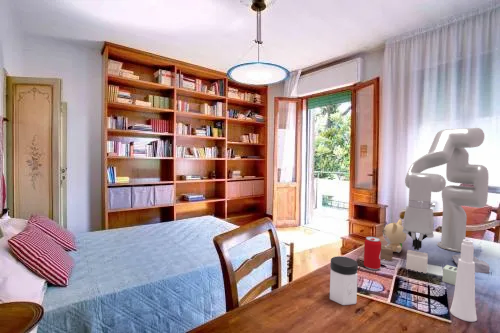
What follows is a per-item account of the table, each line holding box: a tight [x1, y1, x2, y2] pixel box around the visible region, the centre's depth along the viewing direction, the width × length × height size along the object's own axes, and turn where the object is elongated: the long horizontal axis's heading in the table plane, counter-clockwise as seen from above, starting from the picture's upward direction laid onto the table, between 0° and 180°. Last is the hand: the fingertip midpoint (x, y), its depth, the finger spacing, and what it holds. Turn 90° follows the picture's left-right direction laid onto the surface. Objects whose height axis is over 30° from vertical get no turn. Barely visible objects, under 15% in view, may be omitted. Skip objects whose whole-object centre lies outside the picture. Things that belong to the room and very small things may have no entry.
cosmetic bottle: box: [449, 239, 478, 323], centre depth 76 cm, size 6×6×22 cm
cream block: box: [405, 249, 429, 274], centre depth 108 cm, size 7×7×6 cm
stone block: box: [451, 253, 491, 274], centre depth 111 cm, size 12×5×10 cm
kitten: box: [382, 218, 407, 253], centre depth 127 cm, size 15×10×15 cm
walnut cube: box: [381, 244, 394, 261], centre depth 118 cm, size 5×5×5 cm
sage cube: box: [442, 264, 458, 286], centre depth 96 cm, size 5×5×5 cm
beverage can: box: [363, 236, 382, 271], centre depth 107 cm, size 6×6×12 cm
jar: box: [329, 255, 359, 306], centre depth 84 cm, size 9×8×12 cm
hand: (416, 249), depth 107 cm, fingers closed
